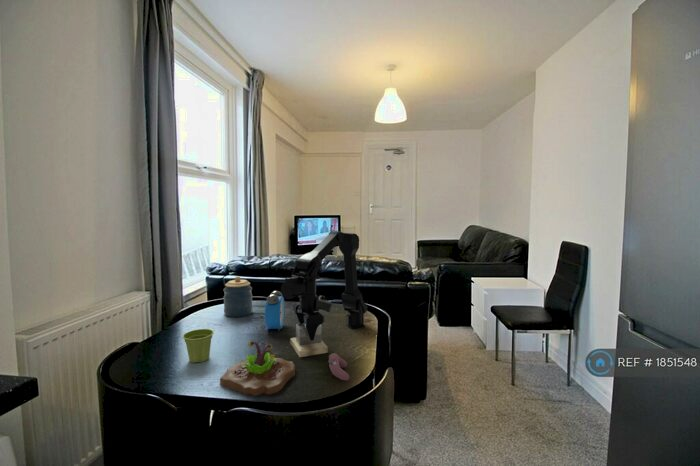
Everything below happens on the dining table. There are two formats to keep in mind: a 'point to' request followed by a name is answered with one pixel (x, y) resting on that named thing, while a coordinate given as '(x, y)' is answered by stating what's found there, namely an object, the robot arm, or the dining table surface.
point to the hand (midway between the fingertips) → (308, 335)
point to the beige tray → (308, 348)
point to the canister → (237, 298)
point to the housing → (306, 335)
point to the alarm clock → (274, 311)
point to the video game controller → (338, 367)
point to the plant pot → (198, 344)
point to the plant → (258, 373)
